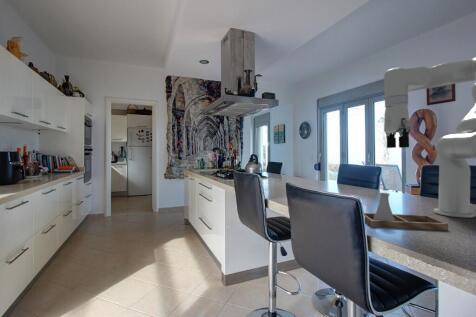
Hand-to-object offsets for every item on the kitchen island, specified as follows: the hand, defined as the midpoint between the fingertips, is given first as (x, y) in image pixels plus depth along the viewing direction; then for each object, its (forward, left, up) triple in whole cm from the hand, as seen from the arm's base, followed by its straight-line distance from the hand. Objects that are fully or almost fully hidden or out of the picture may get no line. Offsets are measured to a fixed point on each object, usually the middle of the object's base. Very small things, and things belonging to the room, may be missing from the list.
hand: (397, 147), depth 99 cm
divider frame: (+3, +11, -26) cm, 29 cm away
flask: (+9, +11, -26) cm, 30 cm away
